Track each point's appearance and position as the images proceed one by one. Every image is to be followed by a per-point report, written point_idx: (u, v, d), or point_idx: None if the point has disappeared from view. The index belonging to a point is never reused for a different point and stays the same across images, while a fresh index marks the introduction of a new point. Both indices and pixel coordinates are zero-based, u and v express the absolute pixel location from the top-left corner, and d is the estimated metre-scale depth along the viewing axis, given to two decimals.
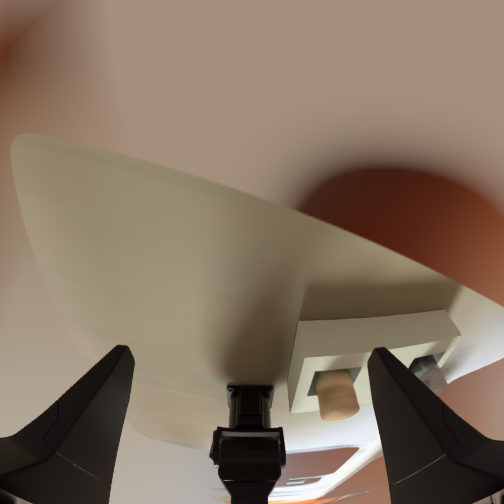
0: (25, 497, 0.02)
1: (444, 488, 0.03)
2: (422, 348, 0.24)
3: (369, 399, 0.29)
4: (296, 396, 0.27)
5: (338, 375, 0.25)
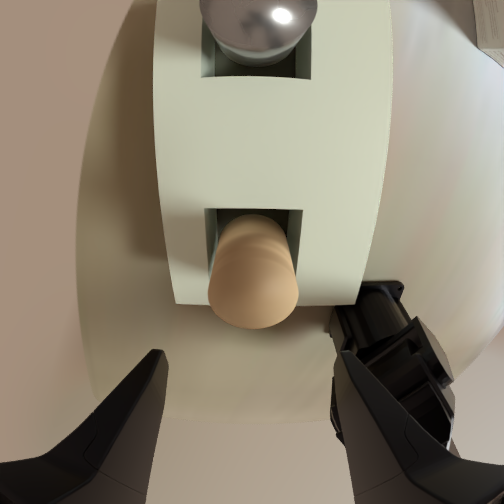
0: None
1: None
2: (169, 73, 0.10)
3: (365, 144, 0.12)
4: None
5: None
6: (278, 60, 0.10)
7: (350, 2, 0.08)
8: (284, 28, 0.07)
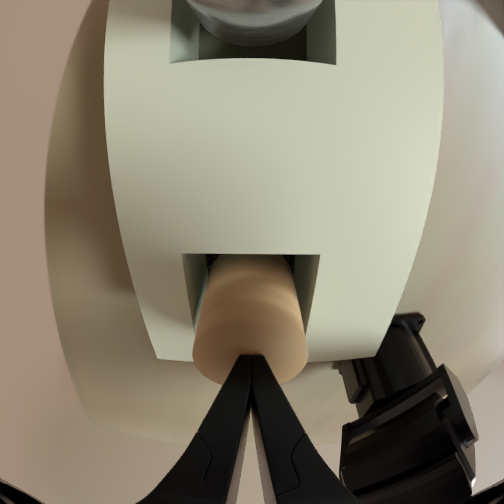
0: None
1: None
2: (124, 61, 0.06)
3: (409, 163, 0.08)
4: None
5: None
6: (287, 35, 0.06)
7: None
8: None
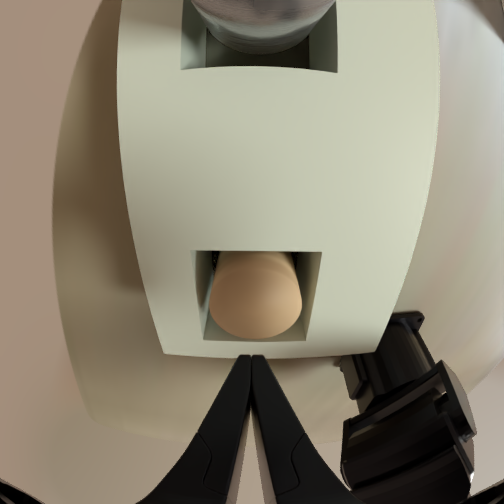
0: None
1: None
2: (137, 66, 0.07)
3: (406, 165, 0.09)
4: (301, 356, 0.14)
5: None
6: (291, 44, 0.07)
7: None
8: None
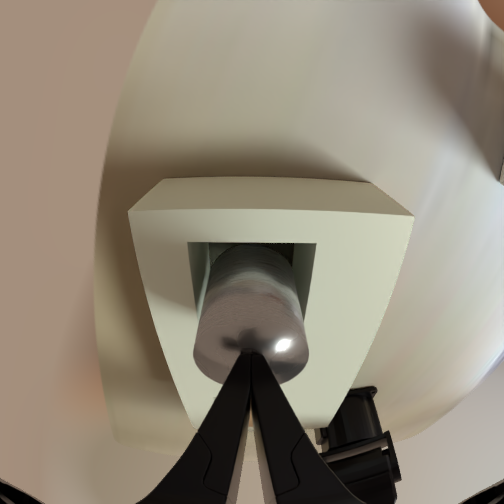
0: None
1: None
2: (169, 325, 0.13)
3: (343, 363, 0.15)
4: None
5: None
6: None
7: (363, 241, 0.11)
8: None
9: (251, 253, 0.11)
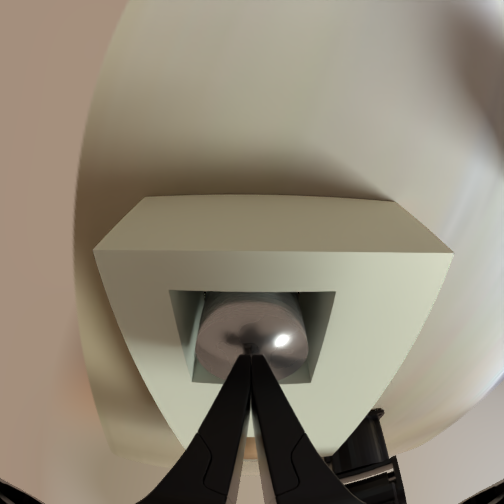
0: None
1: None
2: (156, 373, 0.10)
3: (354, 405, 0.12)
4: None
5: None
6: None
7: (392, 284, 0.08)
8: None
9: None
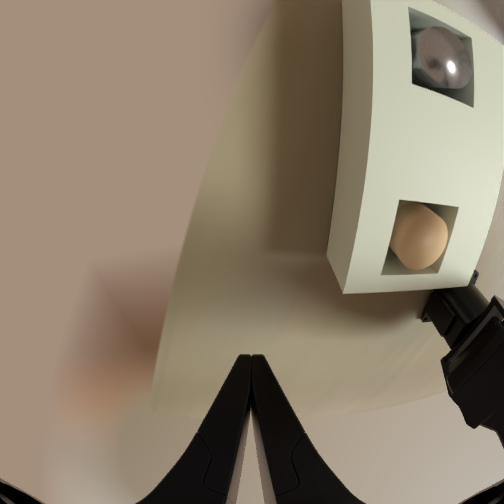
0: None
1: None
2: (387, 70, 0.10)
3: (494, 161, 0.12)
4: (431, 287, 0.17)
5: None
6: None
7: (488, 50, 0.08)
8: (459, 79, 0.09)
9: None
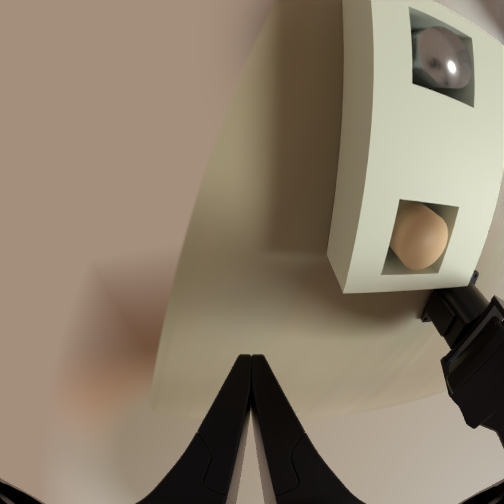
0: None
1: None
2: (387, 69, 0.10)
3: (494, 161, 0.12)
4: (432, 287, 0.17)
5: None
6: None
7: (489, 51, 0.08)
8: (460, 79, 0.09)
9: None
